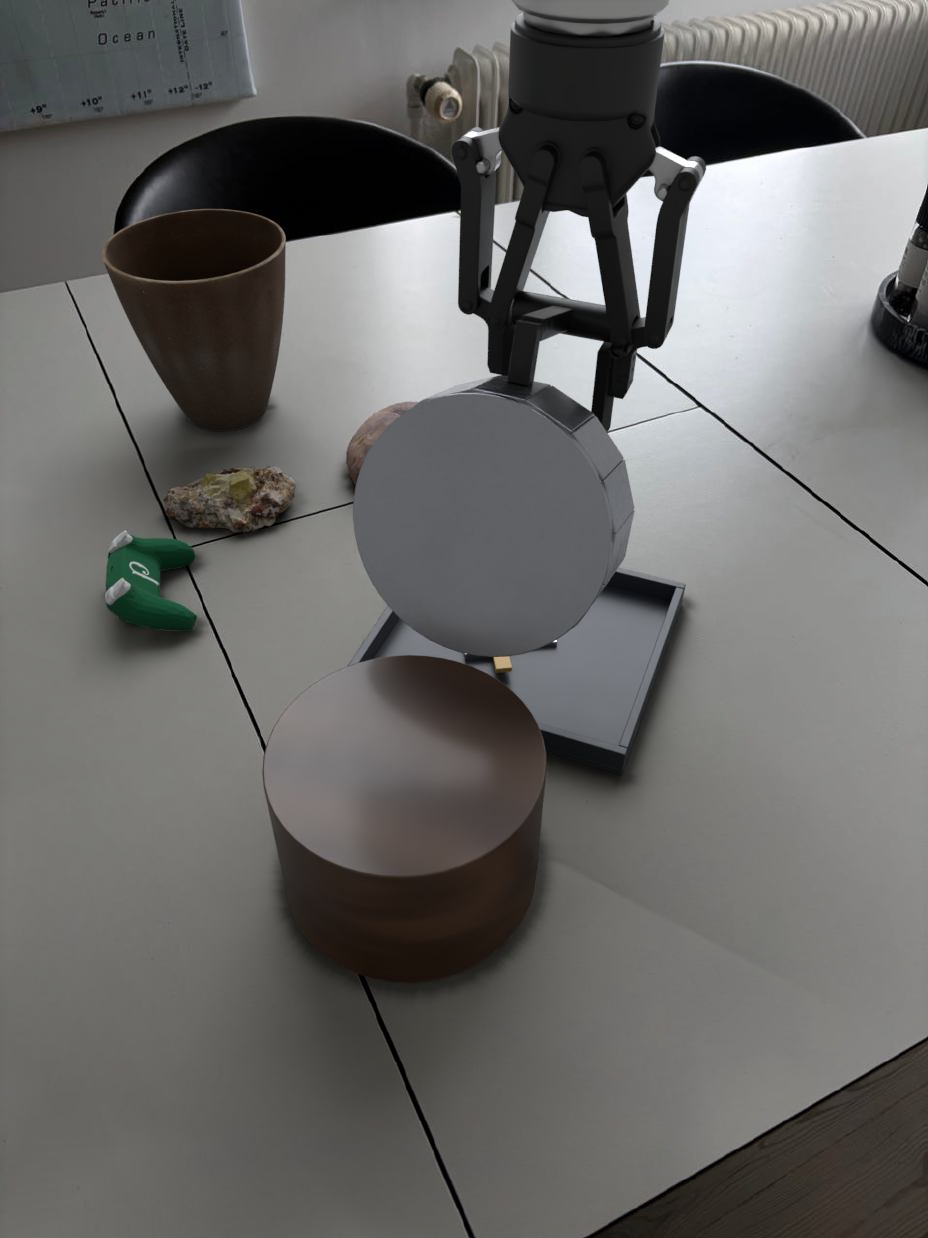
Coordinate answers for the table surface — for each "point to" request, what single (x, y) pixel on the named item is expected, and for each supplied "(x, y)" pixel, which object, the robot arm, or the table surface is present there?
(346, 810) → the stand
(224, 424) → the flower pot
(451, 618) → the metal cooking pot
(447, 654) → the tray
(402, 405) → the decorative stone
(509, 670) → the brass key
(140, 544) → the gaming controller
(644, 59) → the robot arm
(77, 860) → the table surface
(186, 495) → the mineral rock
